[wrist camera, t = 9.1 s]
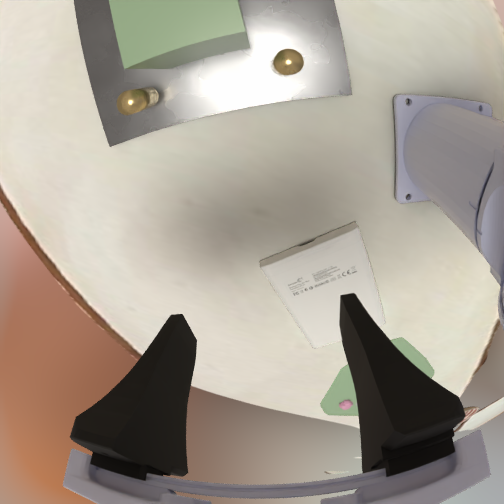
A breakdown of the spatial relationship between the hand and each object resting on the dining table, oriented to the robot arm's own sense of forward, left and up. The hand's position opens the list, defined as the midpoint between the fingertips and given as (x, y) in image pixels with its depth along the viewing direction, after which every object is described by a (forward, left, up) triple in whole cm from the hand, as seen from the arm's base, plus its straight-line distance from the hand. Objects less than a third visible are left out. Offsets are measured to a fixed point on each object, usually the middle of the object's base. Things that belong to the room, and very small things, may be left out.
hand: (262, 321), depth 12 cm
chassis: (+1, -16, -9) cm, 19 cm away
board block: (+1, -16, -9) cm, 18 cm away
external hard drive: (-5, +8, -10) cm, 14 cm away
